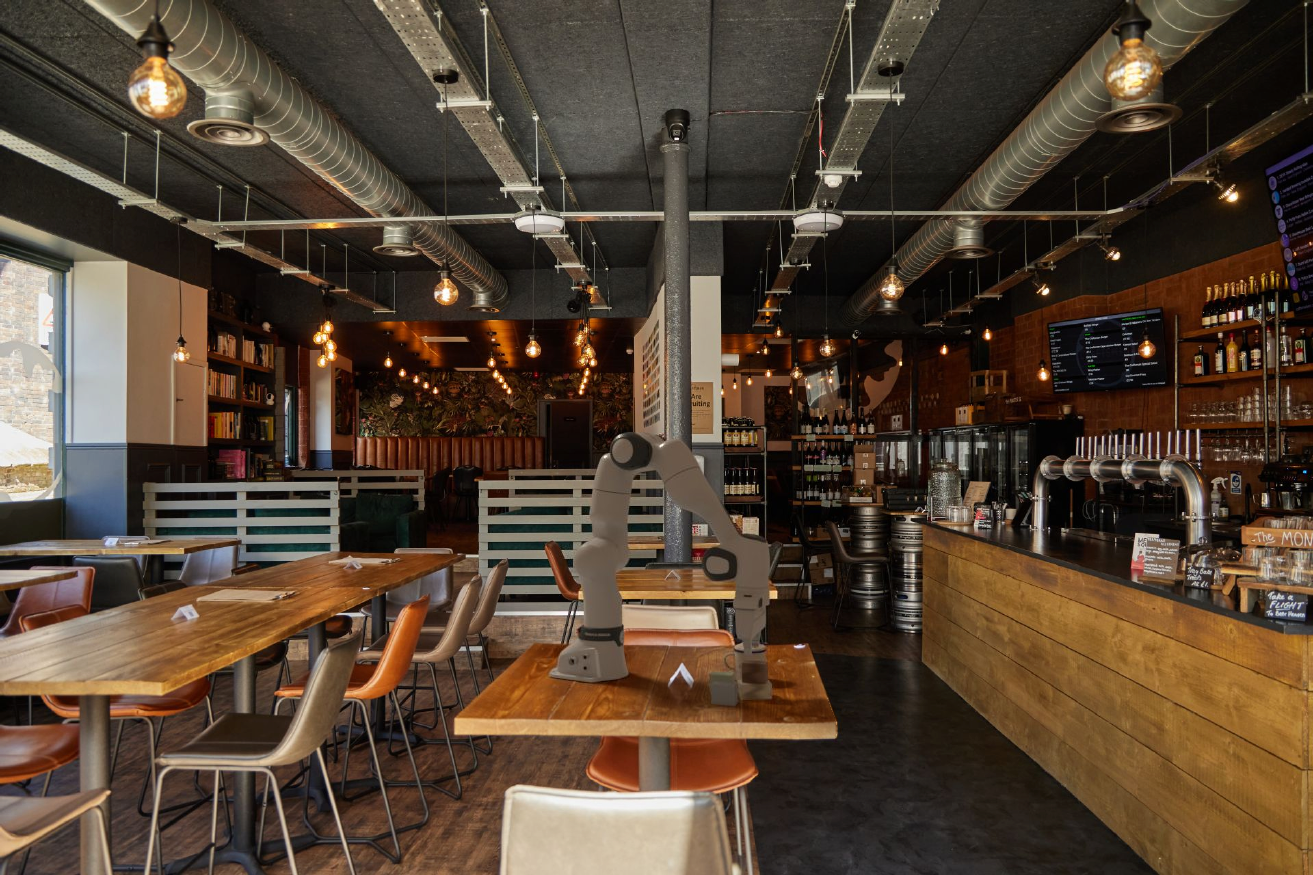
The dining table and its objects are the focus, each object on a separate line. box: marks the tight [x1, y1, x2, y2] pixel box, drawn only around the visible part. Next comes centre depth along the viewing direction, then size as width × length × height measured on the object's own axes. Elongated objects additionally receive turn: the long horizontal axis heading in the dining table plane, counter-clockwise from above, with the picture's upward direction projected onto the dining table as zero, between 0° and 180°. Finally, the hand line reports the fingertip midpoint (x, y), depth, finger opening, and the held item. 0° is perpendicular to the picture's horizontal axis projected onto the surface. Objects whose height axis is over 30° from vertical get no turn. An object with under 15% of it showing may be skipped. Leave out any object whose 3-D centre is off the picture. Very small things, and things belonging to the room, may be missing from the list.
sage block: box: [708, 671, 736, 694], centre depth 225 cm, size 6×4×5 cm, turn 73°
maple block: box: [736, 679, 773, 701], centre depth 221 cm, size 8×5×4 cm, turn 96°
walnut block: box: [742, 660, 769, 684], centre depth 221 cm, size 6×4×5 cm, turn 70°
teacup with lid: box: [723, 641, 768, 681], centre depth 239 cm, size 12×9×12 cm
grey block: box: [710, 681, 739, 707], centre depth 215 cm, size 6×4×5 cm, turn 72°
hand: (751, 651), depth 221 cm, fingers open, 8 cm apart
